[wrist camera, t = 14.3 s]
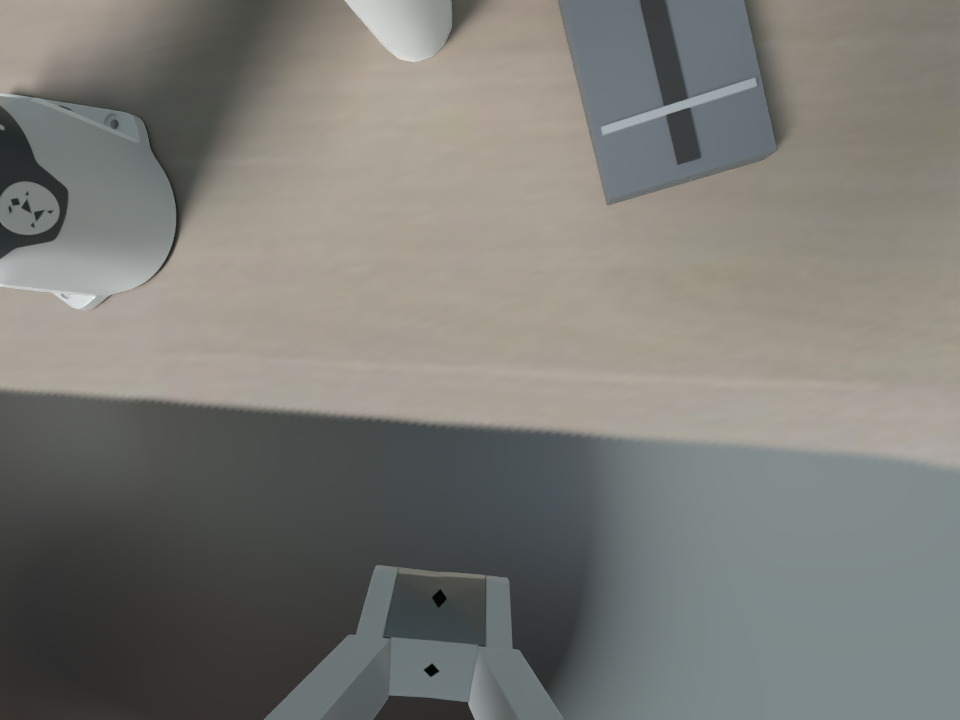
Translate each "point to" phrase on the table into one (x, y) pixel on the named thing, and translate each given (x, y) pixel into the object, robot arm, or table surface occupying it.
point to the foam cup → (407, 25)
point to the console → (667, 90)
